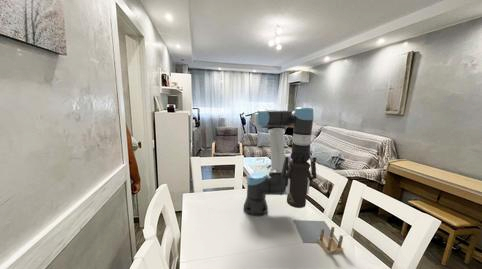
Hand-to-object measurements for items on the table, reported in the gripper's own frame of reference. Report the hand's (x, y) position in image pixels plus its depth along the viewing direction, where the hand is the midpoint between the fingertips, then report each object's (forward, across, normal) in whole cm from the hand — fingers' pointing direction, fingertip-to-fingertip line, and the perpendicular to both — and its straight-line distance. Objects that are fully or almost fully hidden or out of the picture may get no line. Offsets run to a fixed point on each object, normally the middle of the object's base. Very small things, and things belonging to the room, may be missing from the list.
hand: (296, 192), depth 88 cm
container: (+5, 0, 0) cm, 5 cm away
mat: (+27, +15, +10) cm, 33 cm away
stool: (+27, +18, 0) cm, 32 cm away
